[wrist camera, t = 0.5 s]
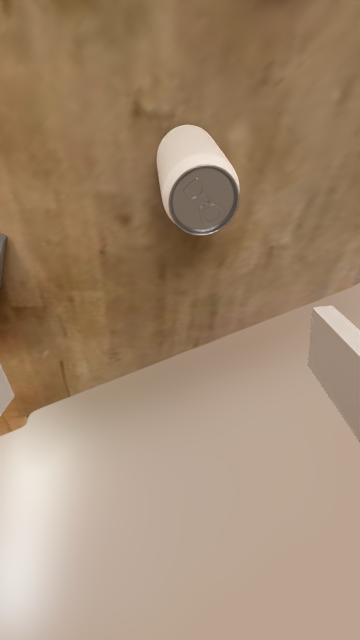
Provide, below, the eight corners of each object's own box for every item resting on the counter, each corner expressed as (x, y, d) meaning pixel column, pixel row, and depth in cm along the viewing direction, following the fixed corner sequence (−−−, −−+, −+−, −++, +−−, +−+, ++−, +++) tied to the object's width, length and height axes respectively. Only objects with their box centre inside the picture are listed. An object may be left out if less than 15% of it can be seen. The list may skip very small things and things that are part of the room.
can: (181, 201, 37) (195, 254, 28) (143, 154, 33) (145, 198, 24) (227, 162, 34) (259, 207, 25) (192, 107, 31) (215, 137, 22)
